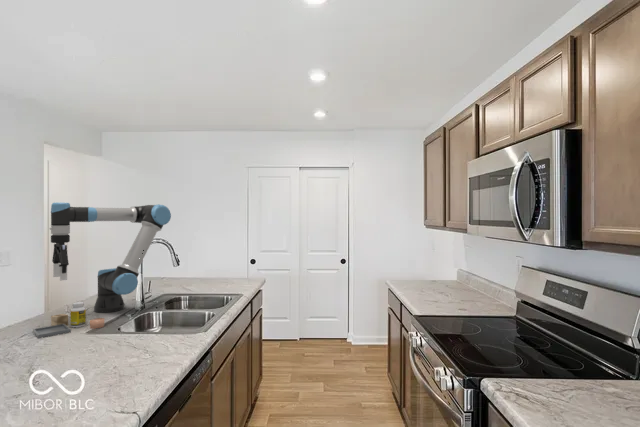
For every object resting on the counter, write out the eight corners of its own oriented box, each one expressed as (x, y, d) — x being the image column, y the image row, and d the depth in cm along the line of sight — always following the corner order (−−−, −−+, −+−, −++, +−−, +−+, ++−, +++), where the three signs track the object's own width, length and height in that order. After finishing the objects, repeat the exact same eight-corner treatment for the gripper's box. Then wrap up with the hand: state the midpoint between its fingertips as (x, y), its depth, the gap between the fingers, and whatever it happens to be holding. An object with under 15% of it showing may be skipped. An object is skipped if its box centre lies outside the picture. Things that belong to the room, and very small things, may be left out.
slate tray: (64, 326, 177) (64, 323, 177) (70, 332, 169) (70, 329, 169) (32, 332, 169) (32, 329, 169) (38, 338, 160) (38, 335, 160)
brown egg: (102, 324, 182) (102, 317, 182) (106, 327, 178) (106, 319, 178) (88, 327, 178) (88, 319, 178) (91, 329, 174) (92, 322, 174)
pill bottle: (80, 328, 176) (80, 304, 176) (67, 327, 176) (67, 304, 176) (88, 324, 182) (88, 301, 182) (76, 324, 182) (76, 301, 182)
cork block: (62, 323, 183) (62, 313, 183) (68, 325, 180) (68, 314, 181) (51, 326, 178) (51, 315, 179) (56, 327, 176) (56, 317, 176)
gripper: (45, 233, 186) (45, 276, 186) (57, 235, 168) (56, 282, 168) (63, 233, 191) (62, 274, 191) (76, 235, 174) (76, 280, 174)
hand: (60, 278), depth 180 cm, fingers open, 13 cm apart
